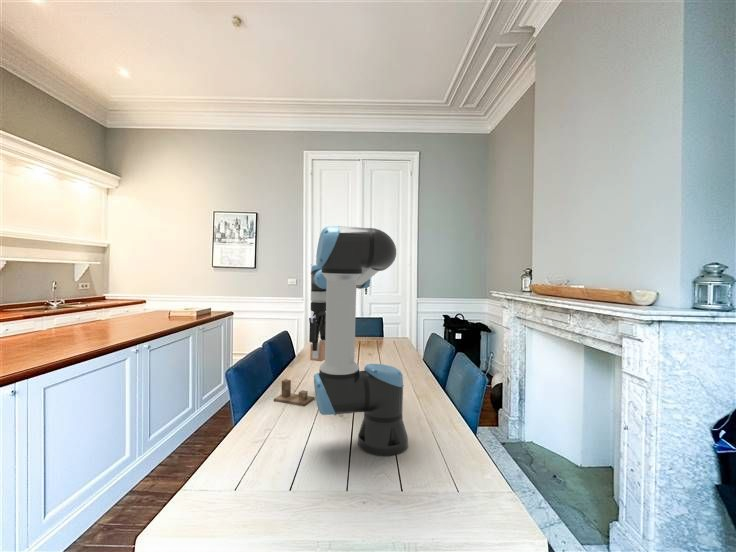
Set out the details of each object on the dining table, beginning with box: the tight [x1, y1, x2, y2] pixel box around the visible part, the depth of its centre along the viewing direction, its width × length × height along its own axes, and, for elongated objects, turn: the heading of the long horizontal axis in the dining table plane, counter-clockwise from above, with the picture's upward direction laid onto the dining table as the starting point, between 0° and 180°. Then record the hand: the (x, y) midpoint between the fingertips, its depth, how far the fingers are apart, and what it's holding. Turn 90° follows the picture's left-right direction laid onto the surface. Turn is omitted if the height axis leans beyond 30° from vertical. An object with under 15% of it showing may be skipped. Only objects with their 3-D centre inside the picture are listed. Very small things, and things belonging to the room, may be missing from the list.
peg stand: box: [273, 378, 316, 407], centre depth 139 cm, size 14×8×8 cm, turn 69°
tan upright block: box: [309, 341, 325, 362], centre depth 145 cm, size 5×5×7 cm
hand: (319, 356), depth 145 cm, fingers closed on tan upright block, 5 cm apart
